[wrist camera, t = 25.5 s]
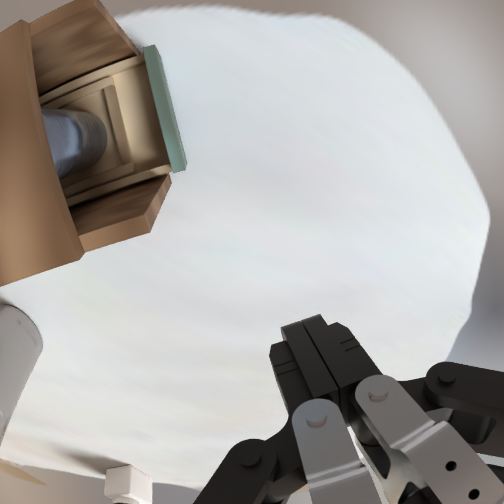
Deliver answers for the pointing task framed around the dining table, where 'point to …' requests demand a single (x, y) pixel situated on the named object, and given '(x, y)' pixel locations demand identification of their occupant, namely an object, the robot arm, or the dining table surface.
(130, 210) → the walnut box
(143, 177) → the wooden drawer
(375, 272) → the dining table surface
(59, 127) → the can
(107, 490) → the medicine bottle
